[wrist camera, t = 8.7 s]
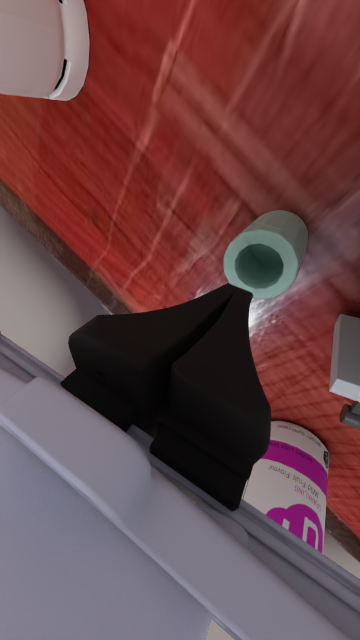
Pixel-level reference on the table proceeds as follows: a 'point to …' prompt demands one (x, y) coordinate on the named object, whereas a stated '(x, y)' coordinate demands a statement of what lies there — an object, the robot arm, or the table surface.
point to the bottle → (43, 48)
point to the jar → (267, 254)
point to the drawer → (347, 367)
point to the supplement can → (292, 482)
